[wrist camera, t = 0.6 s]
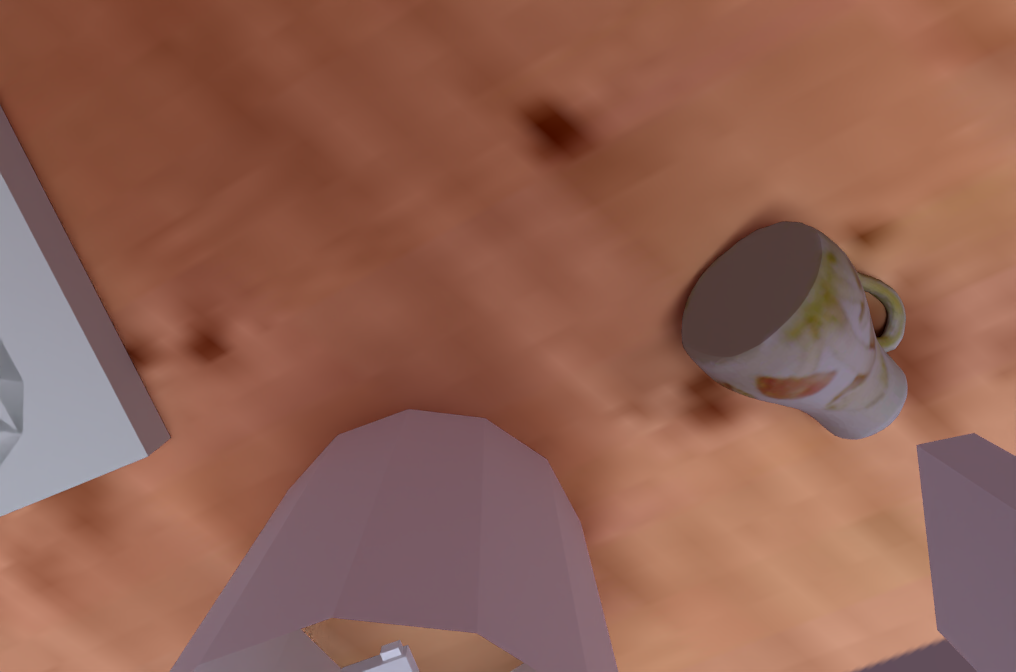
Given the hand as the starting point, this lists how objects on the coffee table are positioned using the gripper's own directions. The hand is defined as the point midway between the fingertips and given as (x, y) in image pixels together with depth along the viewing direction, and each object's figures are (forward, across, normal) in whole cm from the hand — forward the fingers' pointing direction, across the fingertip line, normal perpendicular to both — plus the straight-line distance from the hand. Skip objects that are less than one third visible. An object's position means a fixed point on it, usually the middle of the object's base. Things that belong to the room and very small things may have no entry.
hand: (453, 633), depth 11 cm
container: (+26, -5, -11) cm, 29 cm away
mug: (+26, +14, -4) cm, 30 cm away
